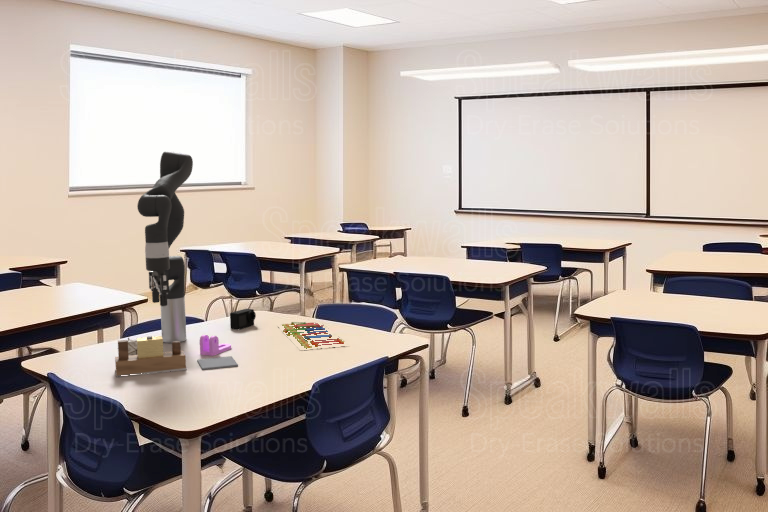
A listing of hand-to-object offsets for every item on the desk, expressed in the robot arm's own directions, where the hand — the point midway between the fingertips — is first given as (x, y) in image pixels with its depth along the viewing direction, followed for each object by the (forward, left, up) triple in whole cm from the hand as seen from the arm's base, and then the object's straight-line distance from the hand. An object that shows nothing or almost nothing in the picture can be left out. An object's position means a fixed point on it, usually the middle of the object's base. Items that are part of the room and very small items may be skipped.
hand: (159, 304), depth 246 cm
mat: (0, +18, -23) cm, 29 cm away
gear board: (-28, +60, -23) cm, 71 cm away
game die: (-15, -9, -23) cm, 29 cm away
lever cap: (0, -4, -18) cm, 18 cm away
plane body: (0, -4, -23) cm, 23 cm away
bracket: (-18, +21, -23) cm, 36 cm away
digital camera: (-54, +38, -23) cm, 70 cm away
